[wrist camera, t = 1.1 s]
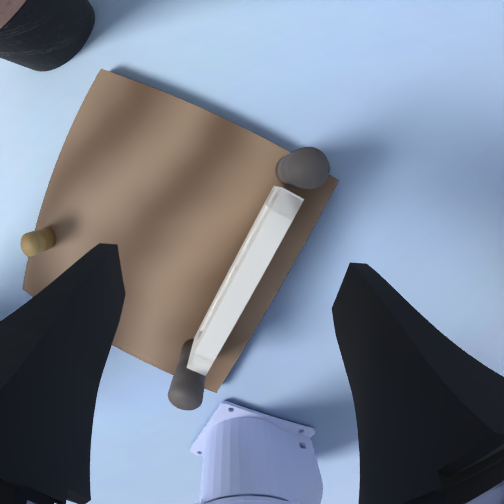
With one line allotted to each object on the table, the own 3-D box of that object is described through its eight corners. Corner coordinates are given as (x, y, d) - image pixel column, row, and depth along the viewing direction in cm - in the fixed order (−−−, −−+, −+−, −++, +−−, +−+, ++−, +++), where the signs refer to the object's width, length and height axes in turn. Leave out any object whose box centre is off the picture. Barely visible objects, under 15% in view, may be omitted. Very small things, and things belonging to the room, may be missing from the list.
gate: (210, 343, 20) (205, 376, 17) (194, 336, 20) (186, 367, 17) (291, 195, 18) (304, 199, 15) (273, 185, 18) (282, 187, 15)
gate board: (334, 180, 20) (374, 181, 14) (216, 385, 23) (212, 443, 17) (106, 72, 17) (63, 41, 11) (28, 285, 21) (-18, 314, 14)
